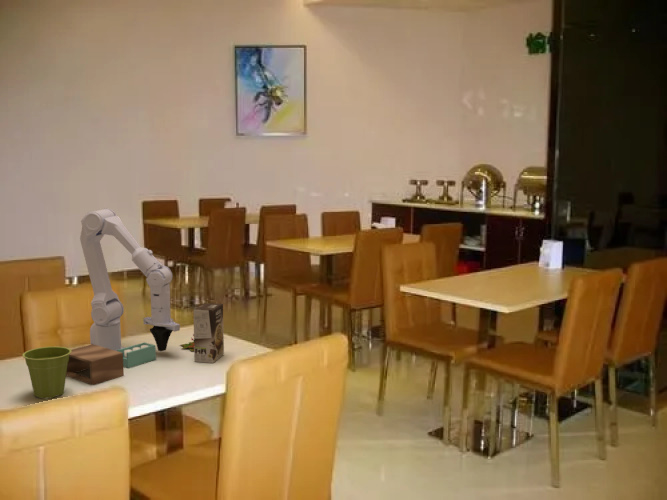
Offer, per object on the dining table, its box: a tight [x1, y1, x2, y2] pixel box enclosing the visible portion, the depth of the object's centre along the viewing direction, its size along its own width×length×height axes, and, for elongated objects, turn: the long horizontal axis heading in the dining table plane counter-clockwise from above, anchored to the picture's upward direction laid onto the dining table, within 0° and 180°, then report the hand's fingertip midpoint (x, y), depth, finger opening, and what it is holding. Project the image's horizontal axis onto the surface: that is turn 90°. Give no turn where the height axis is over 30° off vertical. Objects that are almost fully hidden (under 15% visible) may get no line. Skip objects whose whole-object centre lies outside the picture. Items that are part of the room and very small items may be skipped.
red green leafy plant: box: [180, 333, 194, 353], centre depth 235 cm, size 12×12×5 cm
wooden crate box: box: [66, 343, 125, 386], centre depth 207 cm, size 14×10×7 cm
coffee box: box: [193, 302, 225, 364], centre depth 222 cm, size 9×6×16 cm
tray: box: [117, 341, 157, 369], centre depth 219 cm, size 5×10×4 cm, turn 143°
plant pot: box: [22, 346, 72, 399], centre depth 191 cm, size 12×12×11 cm
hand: (162, 350), depth 226 cm, fingers closed
